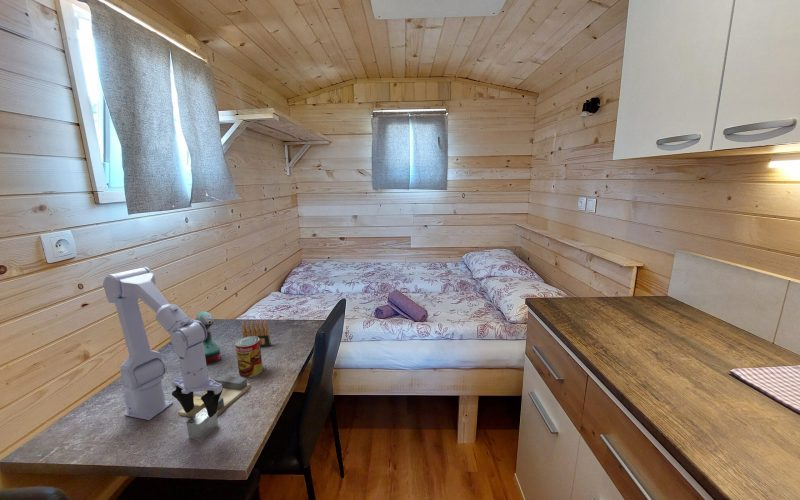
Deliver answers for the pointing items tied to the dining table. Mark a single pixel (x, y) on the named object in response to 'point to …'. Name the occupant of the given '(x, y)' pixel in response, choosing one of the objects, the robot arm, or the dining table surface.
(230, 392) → the vise
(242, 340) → the canned food
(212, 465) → the dining table surface
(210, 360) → the power drill
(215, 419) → the steel block
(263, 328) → the ammunition clip
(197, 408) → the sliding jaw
